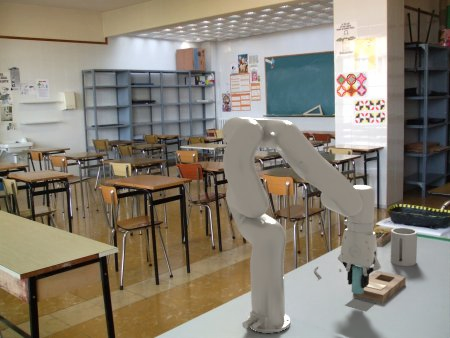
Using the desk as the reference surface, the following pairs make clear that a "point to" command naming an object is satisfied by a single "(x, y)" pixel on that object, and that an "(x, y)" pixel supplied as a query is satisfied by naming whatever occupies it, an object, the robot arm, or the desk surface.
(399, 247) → the cup
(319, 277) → the pliers
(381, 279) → the wooden peg hole block
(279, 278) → the robot arm
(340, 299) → the desk surface
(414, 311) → the desk surface
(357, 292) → the peg
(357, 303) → the pad
